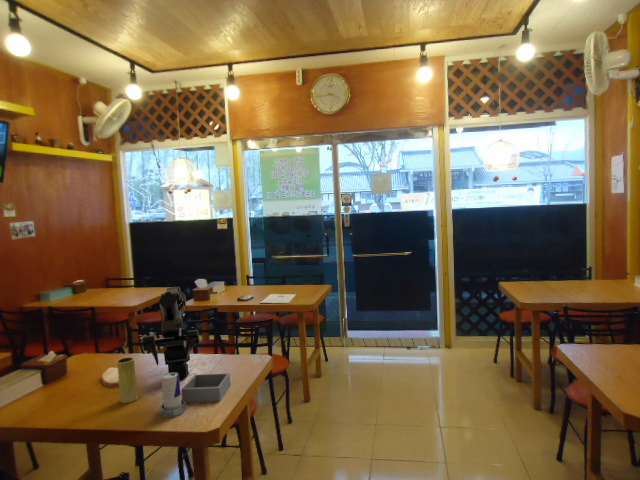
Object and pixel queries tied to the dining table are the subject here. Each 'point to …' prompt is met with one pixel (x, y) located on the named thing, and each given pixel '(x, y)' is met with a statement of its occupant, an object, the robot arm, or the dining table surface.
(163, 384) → the energy drink
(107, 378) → the bread slice
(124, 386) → the vase
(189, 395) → the bin
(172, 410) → the metal collar
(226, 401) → the dining table surface
